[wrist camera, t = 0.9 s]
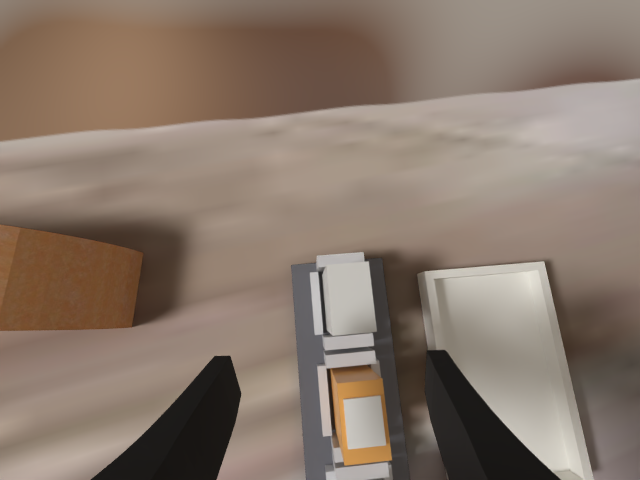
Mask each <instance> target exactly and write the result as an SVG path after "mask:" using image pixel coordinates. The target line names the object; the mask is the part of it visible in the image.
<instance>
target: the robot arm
mask: <svg viewBox="0 0 640 480" xmlns="http://www.w3.org/2000/svg"><path fill="white" fill-rule="evenodd" d="M425 395H426V400H427V405H428V410H429V415H430V420H431V423H432V427H433V430H434V433H435V437H436V440H437V443H438V446H439V450H440V453H441V456H442V459H443V462H444V466H445V469H446V472H447V475H448V479H449V480H561V479H560V478H559V477H558V476H556V475H555V474H554V473H553V472H552V471H551V470H550V469H549V468H548V467H547V466H546V465H545V464H544V463H542V462H541V461H540V460H539V459H538V458H537V457H536V456H535V455H534V454H533V453H532V452H531V451H530V450H529V449H528V448H527V447H526V446H525V445H524V444H523V443H522V442H521V441H520V440H519V439H518V438H517V437H516V436H515V435H514V434H513V433H512V432H511V431H510V429H509V428H508V427H507V426H506V425H505V424H504V423H503V422H502V421H501V420H500V418H499V417H498V416H497V415H496V414H495V413H494V412H493V411H492V409H491V408H490V407H489V406H488V405H487V403H486V402H485V401H484V400H483V399H482V397H481V396H480V395H479V394H478V393H477V391H476V390H475V389H474V388H473V386H472V385H471V384H470V383H469V381H468V380H467V379H466V377H465V376H464V375H463V373H462V372H461V371H460V369H459V368H458V367H457V365H456V364H455V362H454V361H453V359H452V358H451V357H450V355H449V354H448V352H447V351H446V350H427V357H426V376H425ZM240 398H241V391H240V387H239V384H238V381H237V377H236V374H235V370H234V367H233V363H232V360H231V357H230V356H214V357H213V359H212V360H211V361H210V362H209V363H208V364H207V365H206V366H205V368H204V369H203V370H202V371H201V372H200V373H199V375H198V376H197V377H196V378H195V379H194V380H193V382H192V383H191V384H190V385H189V386H188V387H187V388H186V390H185V391H184V392H183V393H182V394H181V395H180V396H179V397H178V398H177V400H176V401H175V402H174V403H173V404H172V405H171V406H170V407H169V408H168V409H167V410H166V411H165V412H164V414H163V415H162V416H161V417H160V418H159V419H158V420H157V421H156V422H155V423H154V424H153V425H152V426H151V427H150V428H149V429H148V430H147V431H146V432H145V433H144V434H143V435H142V436H141V437H140V438H139V439H138V440H137V441H135V442H134V443H133V444H132V445H131V446H130V447H129V448H128V449H127V450H126V451H124V452H123V453H122V454H121V455H120V456H119V457H118V458H117V459H115V460H114V461H113V462H112V463H111V464H109V465H108V466H107V467H106V468H104V469H103V470H102V471H101V472H100V473H98V474H97V475H96V476H95V477H93V478H92V479H91V480H216V479H217V476H218V473H219V470H220V467H221V464H222V461H223V458H224V455H225V452H226V449H227V446H228V443H229V440H230V437H231V434H232V431H233V428H234V425H235V422H236V417H237V413H238V408H239V403H240Z"/></svg>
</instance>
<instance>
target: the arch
mask: <svg viewBox="0 0 640 480" xmlns="http://www.w3.org/2000/svg"><path fill="white" fill-rule="evenodd" d="M142 259H143V253H142V252H139V251H136V250H133V249H129V248H125V247H121V246H117V245H113V244H108V243H104V242H99V241H94V240H90V239H84V238H79V237H74V236H68V235H63V234H57V233H51V232H45V231H39V230H33V229H27V228H20V227H13V226H6V225H0V331H19V330H82V329H111V328H128V327H132V324H133V317H134V311H135V304H136V298H137V291H138V285H139V279H140V272H141V266H142Z"/></svg>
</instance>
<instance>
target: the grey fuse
mask: <svg viewBox="0 0 640 480" xmlns="http://www.w3.org/2000/svg"><path fill="white" fill-rule="evenodd" d="M322 283H323V295H324V306H325V317H326V329H327V331H328V332H329V333H330V334H331V335H332V336H336V335H347V334H358V333H369V332H377V328H376V319H375V311H374V302H373V294H372V285H371V277H370V268H369V261H367V262H355V263H343V264H330V265H326V267H325V269H324V272H323V274H322Z"/></svg>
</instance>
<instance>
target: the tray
mask: <svg viewBox="0 0 640 480" xmlns="http://www.w3.org/2000/svg"><path fill="white" fill-rule="evenodd" d="M417 278H418V285H419V292H420V299H421V306H422V312H423V319H424V326H425V333H426V340H427V347H428V350H446V351H447V352H448V354H449V355H450V357H451V358H452V359H453V361H454V362H455V364H456V365H457V367H458V368H459V369H460V371H461V372H462V373H463V375H464V376H465V377H466V379H467V380H468V381H469V383H470V384H471V385H472V386H473V388H474V389H475V390H476V391H477V393H478V394H479V395H480V396H481V397H482V399H483V400H484V401H485V402H486V403H487V405H488V406H489V407H490V408H491V409H492V411H493V412H494V413H495V414H496V415H497V416H498V417H499V418H500V420H501V421H502V422H503V423H504V424H505V425H506V426H507V427H508V428H509V429H510V431H511V432H512V433H513V434H514V435H515V436H516V437H517V438H518V439H519V440H520V441H521V442H522V443H523V444H524V445H525V446H526V447H527V448H528V449H529V450H530V451H531V452H532V453H533V454H534V455H535V456H536V457H537V458H538V459H539V460H540V461H541V462H542V463H544V464H545V465H546V466H547V467H548V468H549V469H550V470H551V471H552V472H553V473H554V474H555V475H556V476H558V477H559V478H560V479H561V480H594V479H593V474H592V470H591V465H590V461H589V457H588V452H587V448H586V443H585V439H584V435H583V430H582V426H581V421H580V417H579V413H578V408H577V404H576V399H575V395H574V391H573V386H572V382H571V377H570V373H569V369H568V364H567V360H566V355H565V351H564V347H563V342H562V338H561V333H560V329H559V325H558V320H557V316H556V311H555V307H554V303H553V298H552V294H551V289H550V285H549V281H548V276H547V272H546V267H545V263H544V261H543V262H531V263H519V264H507V265H495V266H483V267H471V268H459V269H447V270H435V271H424V272H421V273H418V274H417ZM446 476H447V480H449V479H448V475H447V472H446Z"/></svg>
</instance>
